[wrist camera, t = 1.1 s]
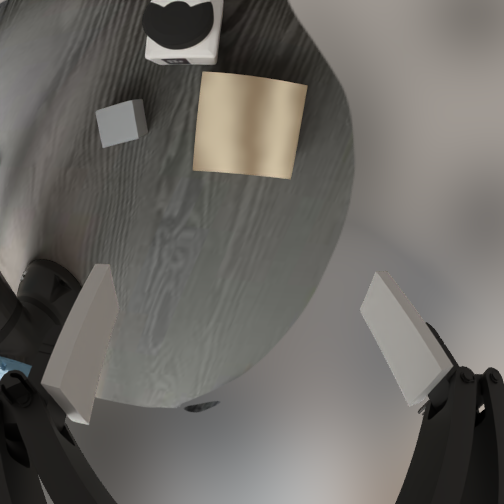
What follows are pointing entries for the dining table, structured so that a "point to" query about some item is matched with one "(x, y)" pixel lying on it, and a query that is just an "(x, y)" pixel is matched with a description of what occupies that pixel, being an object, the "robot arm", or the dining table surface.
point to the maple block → (248, 125)
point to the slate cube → (122, 122)
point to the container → (183, 31)
